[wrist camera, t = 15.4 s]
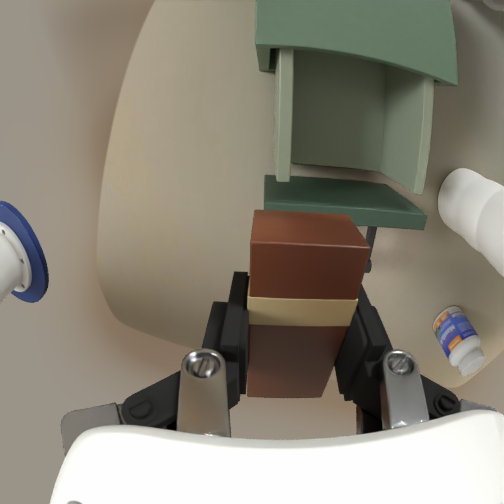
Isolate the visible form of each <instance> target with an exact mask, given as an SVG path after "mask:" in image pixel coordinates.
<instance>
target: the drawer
mask: <svg viewBox="0 0 504 504" xmlns="http://www.w3.org/2000/svg"><path fill="white" fill-rule="evenodd" d="M433 95H434V79H432V78H429V77H426V76H424V75H421V74H418V73H415V72H411V71H408V70H405V69H401V68H398V67H394V66H391V65H387V64H383V63H379V62H375V61H370V60H366V59H361V58H356V57H350V56H345V55H339V54H332V53H325V52H317V51H308V50H297V49H283V48H276V52H275V117H274V155H273V162H274V167H275V174H276V175H265V180H264V210H276V211H294V212H311V213H326V214H340V215H348V216H349V217H350V218H351V220H352V221H353V222H354V224H355V225H357V226H368V230H367V235H366V242H367V243H368V245H369V246H370V252H369V256H368V260H367V264H366V268H365V272H364V273H369V272H370V271H371V267H372V264H371V260H370V257H371V253H372V248H373V244H374V239H375V235H376V230H377V227H387V228H401V229H414V230H424V227H425V223H426V219H427V214H425V213H424V212H423V211H422V210H420V209H419V208H418V207H416V206H415V205H414V204H412V203H411V202H410V201H409V200H407V199H406V198H405V197H403V196H402V195H400V194H399V193H398V192H396V191H395V190H394V189H392V188H391V187H389V186H388V185H386V184H380V183H371V182H362V181H352V180H342V179H330V178H316V177H300V176H290V170H291V163H293V164H310V165H323V166H335V167H345V168H354V169H363V170H371V171H379V172H381V173H382V174H384V175H385V176H387V177H389V178H390V179H392V180H393V181H395V182H397V183H398V184H400V185H401V186H403V187H404V188H406V189H407V190H409V191H410V192H412V193H413V194H419V195H422V194H423V188H424V183H425V177H426V171H427V164H428V157H429V149H430V140H431V130H432V117H433Z"/></svg>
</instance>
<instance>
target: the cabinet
mask: <svg viewBox="0 0 504 504" xmlns="http://www.w3.org/2000/svg"><path fill="white" fill-rule="evenodd" d="M255 44H256V50H257V57H258V64H259V70H260V71H275V52H276V48H283V49H297V50H308V51H317V52H325V53H332V54H339V55H345V56H350V57H356V58H361V59H366V60H370V61H375V62H379V63H383V64H387V65H391V66H394V67H398V68H401V69H405V70H408V71H411V72H415V73H418V74H421V75H424V76H426V77H429V78H432V79H434V86H457V85H458V74H457V53H456V41H455V32H454V24H453V17H452V11H451V6H450V0H256V39H255Z"/></svg>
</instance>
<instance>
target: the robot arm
mask: <svg viewBox="0 0 504 504" xmlns="http://www.w3.org/2000/svg"><path fill="white" fill-rule="evenodd" d="M249 278H250V276H248V272H234V275H233V280H232V285H231V290H230V295H229V301H228V302H215V301H214V302H213V305H212V309H211V312H210V316H209V320H208V324H207V328H206V332H205V336H204V340H203V344H202V348H201V349H196V350H194V351H191V352H190V353H188V354H187V355H186V356H185V357H184V359H183V361H182V364H181V370H180V371H178V372H176V373H174V374H172V375H170V376H169V377H167V378H165V379H163V380H161V381H159V382H157V383H155V384H153V385H151V386H149V387H147V388H145V389H143V390H141V391H139V392H137V393H135V394H133V395H131V396H130V397H128V398H127V399H126V400H125V401H124V403H123V404H118V405H117V404H116V403H111V404H106V405H101V406H96V407H91V408H86V409H80V410H74V411H71V412H68V413H67V414H66V415H65V416H64V417H63V419H62V421H61V433H62V440H63V448H64V454H65V460H64V462H63V464H62V467H61V469H60V472H59V475H58V478H57V481H56V484H55V486H54V490H53V494H52V497H51V501H50V504H504V415H502V414H501V413H498V412H497V411H496V410H495V409H494V408H492V407H489V406H486V405H482V404H478V403H474V402H471V401H467V400H464V399H461V400H460V401H459V400H458V398H457V397H456V395H454V393H452V392H451V391H449V390H447V389H446V388H444V387H442V386H440V385H439V384H437V383H435V382H433V381H431V380H430V379H428V378H426V377H424V376H423V375H421V374H420V372H419V368H418V364H417V361H416V359H415V358H414V357H413V356H412V355H411V354H410V353H408V352H406V351H404V350H399V349H396V350H393V348H392V345H391V343H390V340H389V338H388V335H387V333H386V331H385V328H384V326H383V323H382V321H381V319H380V316H379V314H378V312H377V309H376V308H375V307H374V306H371V304H370V302H369V299H368V297H367V295H366V293H365V290H364V288H363V286H362V284H361V286H360V290H359V293H358V297H357V298H358V303H357V306H356V309H355V312H354V314H353V317H352V320H351V323H350V326H348V328H347V331H346V334H345V337H344V340H343V343H342V346H341V348H340V351H339V354H338V356H337V359H336V362H335V364H334V366H335V371H336V376H337V382H338V388H339V392H340V394H344V400H345V401H351V400H353V403H355V404H356V405H357V407H356V413H357V415H356V418H357V419H356V422H357V426H356V427H357V432H356V435H353V436H343V437H333V438H320V439H302V440H301V439H300V440H263V439H261V440H260V439H242V438H231V427H230V412H229V409H231V408H232V407H234V406H235V405H236V404H238V401H240V394H246V383H247V371H248V343H249V311H248V310H247V297H248V288H249ZM31 281H32V270H31V265H30V262H29V259H28V256H27V253H26V251H25V249H24V247H23V245H22V243H21V241H20V240H19V238H18V237H17V235H16V234H15V233H14V232H13V230H12V229H11V228H10V227H9V226H7V225H6V224H5V223H2V222H0V304H1V303H2V302H3V300H4V299H5V298H6V297H7V296H8V295H9V294H10V293H11V292H12V291H13V290H15V291H17V292H23V291H25V290H26V289H27V288H28V287H29V286H30V285H31Z"/></svg>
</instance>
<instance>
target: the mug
mask: <svg viewBox="0 0 504 504" xmlns="http://www.w3.org/2000/svg"><path fill="white" fill-rule="evenodd" d="M482 1H483V2H484V3H485V4H486V5H487V6H488V7H490V8H491V9H493V10H497V11H504V2H503V1H500V2H497V1H493V0H482Z"/></svg>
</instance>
